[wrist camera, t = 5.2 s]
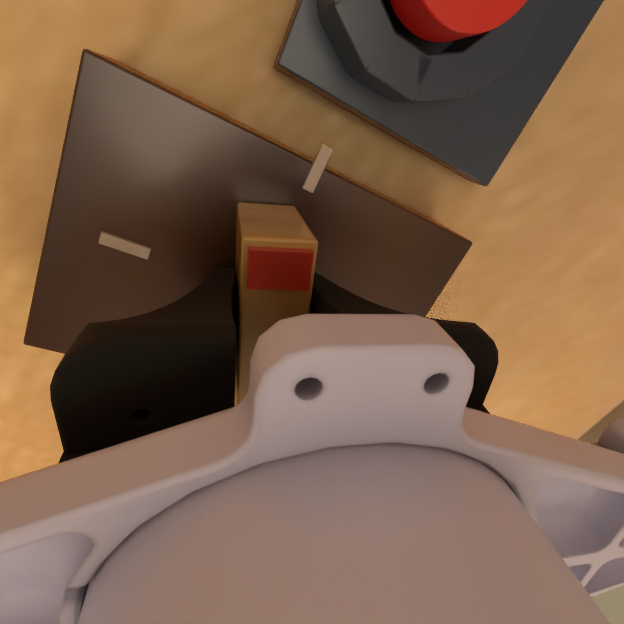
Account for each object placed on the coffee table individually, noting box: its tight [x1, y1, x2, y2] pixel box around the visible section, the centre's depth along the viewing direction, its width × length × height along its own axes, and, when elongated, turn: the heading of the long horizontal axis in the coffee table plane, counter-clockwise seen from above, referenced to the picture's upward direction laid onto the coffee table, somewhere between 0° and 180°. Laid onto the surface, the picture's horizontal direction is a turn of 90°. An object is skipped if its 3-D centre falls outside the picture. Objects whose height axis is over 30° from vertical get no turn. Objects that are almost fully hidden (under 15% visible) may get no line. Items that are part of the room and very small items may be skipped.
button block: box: [274, 0, 604, 186], centre depth 12 cm, size 9×8×3 cm
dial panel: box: [24, 49, 472, 354], centre depth 15 cm, size 13×10×3 cm
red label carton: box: [235, 202, 318, 406], centre depth 12 cm, size 6×2×4 cm, turn 173°
